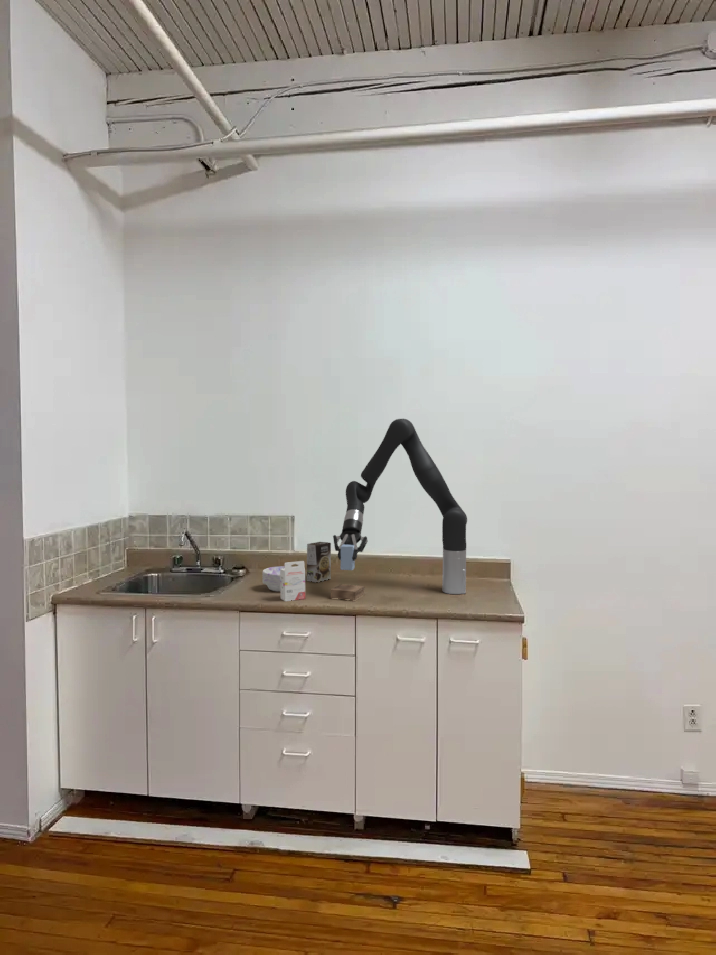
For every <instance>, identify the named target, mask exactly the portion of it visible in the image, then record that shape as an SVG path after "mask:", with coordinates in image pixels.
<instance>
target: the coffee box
mask: <svg viewBox="0 0 716 955" xmlns="http://www.w3.org/2000/svg"><path fill="white" fill-rule="evenodd" d="M331 548H332V543H331V542H326V541H317V542H311V543H307V544H306V581H307V582H311V581H312V583H316V582H318V583H321V582H320V581H322V582H325V581H324V580H326V581H329V580H328V579H330V580H331V576H332V573H331V572H332V570H331V566H332V565H331V564H332V562H331V559H332V558H331V556H332V553H331V552H332V551H331V550H332V549H331Z"/></svg>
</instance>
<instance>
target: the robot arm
mask: <svg viewBox="0 0 716 955" xmlns="http://www.w3.org/2000/svg"><path fill="white" fill-rule="evenodd" d="M400 445H401V446H402V448H403V449H404V450H405V452H406V454H407V456H408V458H409V462H410V465H411V467H412V471H413V473H414V476H415V478H416V480H418V483H419V484H420V486H421V488H423V490H424V491H425V492H426V494H428V496H429V497H430V498H431V499H432V500H433V502H434V503H435V504H436V506H437V507H438V509H439V511H440V513H441V515H442V523H441V524H442V532H441V533H442V535H441V536H442V539H441V540H442V586H441V588H442V589H441V590H442V592H443V593H445V594H448V595H449V594H450V595H462V594H466V591H467V590H466V589H467V588H466V587H467V586H466V585H467V524H468V516H467V514H466V513H465V511H464V510H463V508H462V507H461V506H460V505H459V503H458V502H457V500H456V499H455V497H454V496H453V494H452V493H451V491H450V489H449V487H448V484H447V483H446V480H445V479H444V476H443V475H442V473H441V471H440V469H439V468H438V466H437V465H436V463H435V461H434V460H433V458H432V457H431V455H430V454H429V452H428V451H427V450H426V447H424V444H422V441H421V439H420V437H419V435H418V432H417V430H416V428H415V426H414V424H413V423H412V422H411V421H410V420H409V419H406V418H396V419H394V420H393V421H392V422H391V423H389V426H388V428H387V431H386V433H385V434H384V437H383V439H382V441H381V443H380V444H379V446H378V448H377V450H376V451H375V453H374V454H373V455H372V457H371V458H370V460H369V461H368V462H367V464H366V465H365V467H364V468H363V469H362V471H361V473H360V477H361V479H362V480H363V481H364V482H365V483H366V485H363V484H361V483H360V482H358V481H355V480H352V481H349V483H348V484H347V486H346V488H345V499H346V511H345V516H344V518H343V524H342V525H343V526H342V530H341V533H340V534H339V535H335V534H334V535H332V537H333V538H332V539H333V544H334V545H333V546H334V550H335V551H336V552H337V558H338V559H339V561H341V546H342V545H354V551H353V557H352V559H353V561H355V562H356V560H357V558H358V553H363V552H364V549H365V547H366V546H367V544H368V537H367V536H362V529H363V524H364V513H365V503H368V501H369V500H370V499H371V496H372V493H373V490H374V487H375V485H376V483H377V481H378V479H380V477H381V475H382V473H383V472H384V471H385V469H386V468H387V465H388V463H389V461H390V459H391V457H392V455H393V454H394V453H395V451H396V449H398V447H400ZM340 540H341V543H340V545H338V543H339V542H340ZM360 541H361V542H360ZM359 542H360V544H359V546H358V543H359Z"/></svg>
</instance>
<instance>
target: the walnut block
mask: <svg viewBox="0 0 716 955" xmlns="http://www.w3.org/2000/svg"><path fill="white" fill-rule="evenodd" d="M362 595H364V596H365V585H356V584H355V585H353V584H343V583H340V584H338V585H336V586H335V587H332V588H331V589H330V599H331V598H338V599H350V600H356V599H357V598H359V597H361V596H362ZM361 598H362V597H361ZM356 601H357V600H356Z"/></svg>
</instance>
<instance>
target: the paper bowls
mask: <svg viewBox="0 0 716 955" xmlns="http://www.w3.org/2000/svg"><path fill="white" fill-rule="evenodd" d="M284 568H285V565H283V566H282V565H281V566H271V567H267V568H264V569H263V570H262V574H261V575H262V579H261V580H262V584H263V585H266V586H267V588H268V589H269V590H270V591H273V592H280V569H284Z"/></svg>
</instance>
